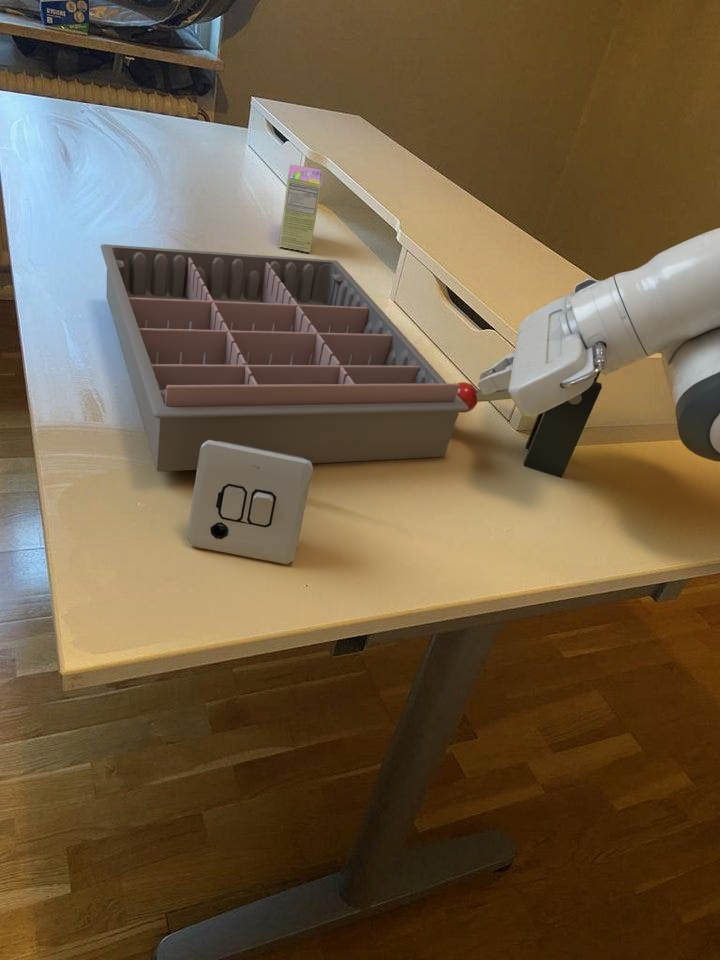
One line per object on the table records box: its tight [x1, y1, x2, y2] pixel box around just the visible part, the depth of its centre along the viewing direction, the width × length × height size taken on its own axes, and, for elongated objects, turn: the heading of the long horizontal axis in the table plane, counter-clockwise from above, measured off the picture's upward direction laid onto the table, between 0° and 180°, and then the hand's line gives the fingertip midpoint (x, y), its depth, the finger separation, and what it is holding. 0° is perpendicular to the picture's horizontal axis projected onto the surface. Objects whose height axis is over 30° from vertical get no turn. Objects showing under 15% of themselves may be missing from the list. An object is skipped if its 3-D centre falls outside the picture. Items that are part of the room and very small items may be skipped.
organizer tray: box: [100, 243, 469, 473], centre depth 86 cm, size 32×40×10 cm
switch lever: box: [457, 381, 513, 414], centre depth 81 cm, size 15×3×3 cm, turn 76°
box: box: [278, 164, 322, 254], centre depth 129 cm, size 10×6×12 cm, turn 2°
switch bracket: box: [523, 372, 603, 479], centre depth 81 cm, size 12×10×13 cm
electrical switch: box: [186, 440, 314, 565], centre depth 63 cm, size 9×5×9 cm, turn 87°
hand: (481, 384), depth 81 cm, fingers closed
